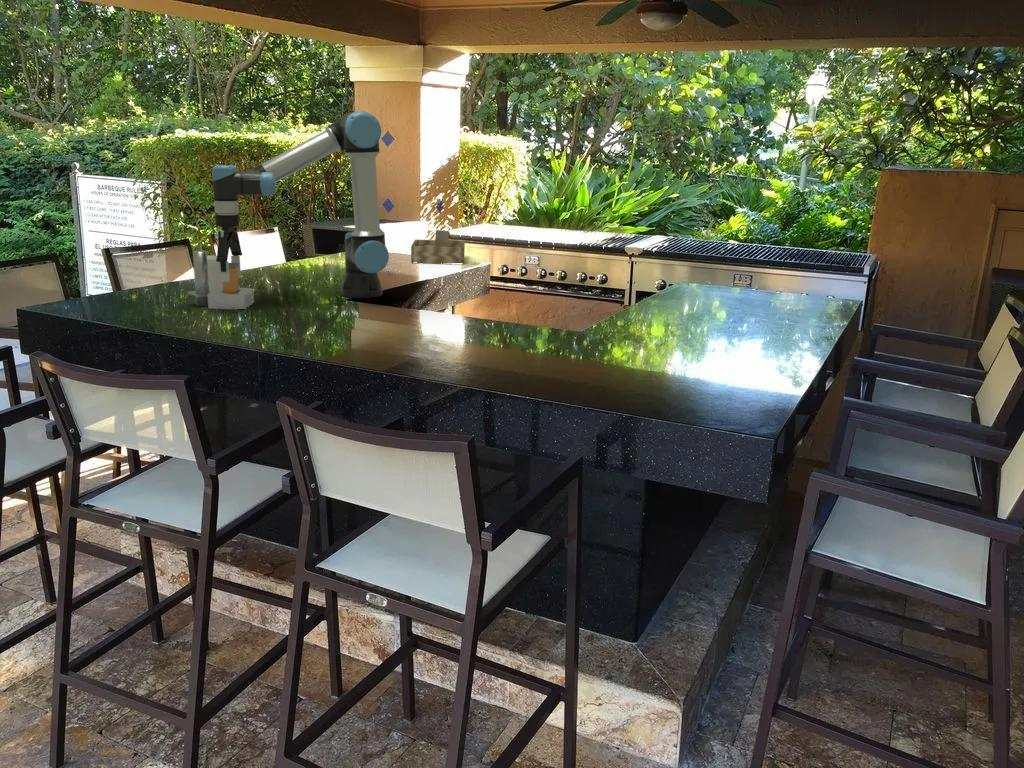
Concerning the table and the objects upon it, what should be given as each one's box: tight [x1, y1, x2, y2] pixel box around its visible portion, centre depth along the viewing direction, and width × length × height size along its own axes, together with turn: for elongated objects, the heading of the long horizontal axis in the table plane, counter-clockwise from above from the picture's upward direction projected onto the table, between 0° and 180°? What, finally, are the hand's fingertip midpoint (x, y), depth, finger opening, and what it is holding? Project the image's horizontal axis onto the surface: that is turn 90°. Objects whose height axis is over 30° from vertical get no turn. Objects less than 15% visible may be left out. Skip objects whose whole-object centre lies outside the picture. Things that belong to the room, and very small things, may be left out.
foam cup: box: [207, 255, 223, 291], centre depth 308 cm, size 10×9×13 cm
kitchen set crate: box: [410, 239, 466, 265], centre depth 412 cm, size 24×26×8 cm
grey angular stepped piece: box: [187, 250, 255, 310], centre depth 292 cm, size 20×24×18 cm
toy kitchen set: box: [425, 229, 452, 247], centre depth 412 cm, size 18×17×15 cm
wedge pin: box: [223, 262, 240, 293], centre depth 287 cm, size 5×5×14 cm
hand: (230, 278), depth 287 cm, fingers open, 13 cm apart
